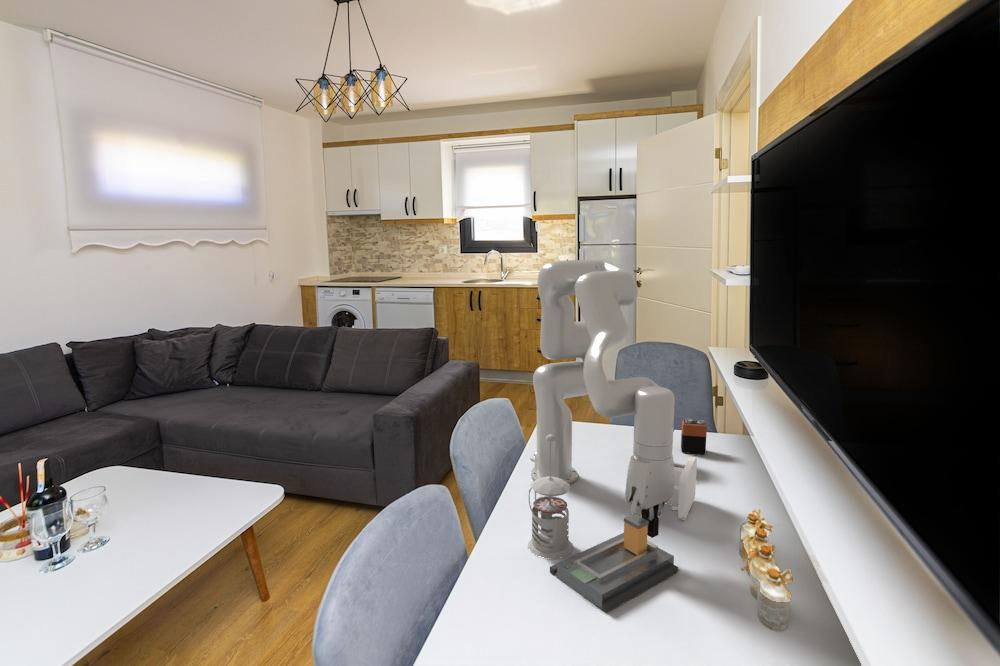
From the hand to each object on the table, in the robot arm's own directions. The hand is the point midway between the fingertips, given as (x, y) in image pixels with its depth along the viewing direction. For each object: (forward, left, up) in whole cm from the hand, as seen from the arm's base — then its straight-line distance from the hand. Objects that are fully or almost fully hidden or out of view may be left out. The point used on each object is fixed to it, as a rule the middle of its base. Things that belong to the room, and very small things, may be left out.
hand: (649, 533), depth 117 cm
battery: (-29, +55, -5) cm, 63 cm away
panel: (0, -10, -5) cm, 11 cm away
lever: (0, -4, -2) cm, 5 cm away
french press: (-16, -13, -5) cm, 22 cm away
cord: (-8, -10, -5) cm, 13 cm away
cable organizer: (-11, +20, -5) cm, 24 cm away
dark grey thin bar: (+6, -10, -5) cm, 13 cm away
